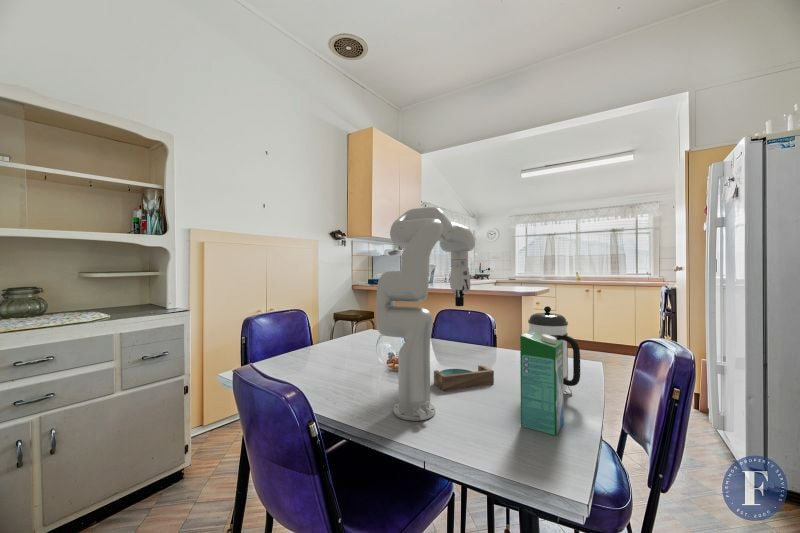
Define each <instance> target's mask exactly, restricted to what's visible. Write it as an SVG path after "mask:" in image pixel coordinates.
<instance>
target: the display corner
mask: <svg viewBox="0 0 800 533" xmlns="http://www.w3.org/2000/svg"><path fill="white" fill-rule="evenodd" d="M494 373H495V370H493V369H491V368H489V367H487V366H484V365H482V364H478V365H477V371H473V372H468V373H461V374H453V375H444V374H443V373H441V372H440V371H439V370H433V385H434V386H436V387H437V388H438V389H440V390H442V392H449V391H455V390H462V389H471V388H478V387H483V386H490V385H494V384H495V380H494V379H495V378H494V376H495V374H494Z"/></svg>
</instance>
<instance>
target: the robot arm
mask: <svg viewBox="0 0 800 533" xmlns="http://www.w3.org/2000/svg"><path fill="white" fill-rule="evenodd" d="M389 230H390V231H389V237H390V239H391V241H392V243H393V244H394V245H395V246H398V247H404V248H403V250H402V254H401V260H400V270H391V271H390V270H388V271H385V272H384V273H381V276H380V277H379V278H378V281H377V286H376V310H375V311H376V312H375V313H376V317H375V318H376V330H377V331H378V333H379V334H380V335H381V336H384V337H390V338H392V337H393V338H401V339H405V342H404V343H403V345H402V346H401V347H400V348H399V351H398V359H397V360H398V361H397V363H398V365H397V366H398V373H397V374H398V375H397V376H398V382H397V383H398V403H396V404H395V405H394V406H393V411H392V412H393V414H394V416H396V417H397V418H399V419H400V420H401V419H402V420H405V421H409V422H410V421H412V422H418V421H425V420H428V419H430V418H433V417H434V416H435V415H436V407H435V406H434V404H432V403H431V341H432V340H431V339H432V334H433V333H432V332H433V325H434V318H433V314H432V312H431V311H430V310H428V309H426V308H425V307H421V306H420V307H419V306H406V305H404V306H403V305H396V302H398V303H421V302H424V301H426V299H427V298H428V294H429V283H430V282H429V280H430V278H429V277H430V276H429V274H430V256H431V253H432V251H433V249H434V248H435V245H436V244H437V243H438V242H439V247H440V248H441V250H443V251H444V252H445V253H450V274H449V276H450V277H449V278H450V279H449V286H450V289H451V292H453V293H454V298H455V301H454V302H455V305H454V306H455V307H464V304H465V303H464V302H465V301H464V300H465V299H464V298H465V294H467V293H468V291H469V290H471V275H470V268H469V252H472V250H474V248H475V246H476V238H475V236H474V233H473V232H472V231H471V229H470V228H468V227H467V226H464V225H462V224H459V223H456V222H453V221H450V219H449V218H448V217H447V216H446V214H445V213H444V212H443V210H441V209H440V208H438V207H434V206H428V207H419V208H411V209H408V210H407V211H405V212H403V213H402V214H401V215H400V216H399V217H398V218H397V219H395V221H394V222H392V224H391V226H390V229H389Z"/></svg>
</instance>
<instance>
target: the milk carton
mask: <svg viewBox="0 0 800 533" xmlns="http://www.w3.org/2000/svg"><path fill="white" fill-rule="evenodd" d="M519 339H520V341H519V345H520V346H519V347H520V356H519V357H520V360H519V362H520V426H521V427H524V428H527V429H530V430H535V431H537V432H542V433H545V434H549V435H552V436H553V435H554V436H558V434H559V432H560V429H562V426H563V425H564V421H565V419H564V415H565V414H564V413H565V412H564V391H563V342H562V341H559V340H557V339H556V338H555V337H553V336H550V335H547V334H539V333H536V332H533V331H529V330H528V331H526V332H524V333H523V334H521V335H520V337H519Z"/></svg>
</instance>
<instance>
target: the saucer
mask: <svg viewBox="0 0 800 533" xmlns="http://www.w3.org/2000/svg"><path fill="white" fill-rule="evenodd" d="M439 372H441V373H443V374H444V375H453V374H461V373H468V372H474V371H472V370H469V369H463V368H448V369H447V368H446V369H442V370H440V371H439Z"/></svg>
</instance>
